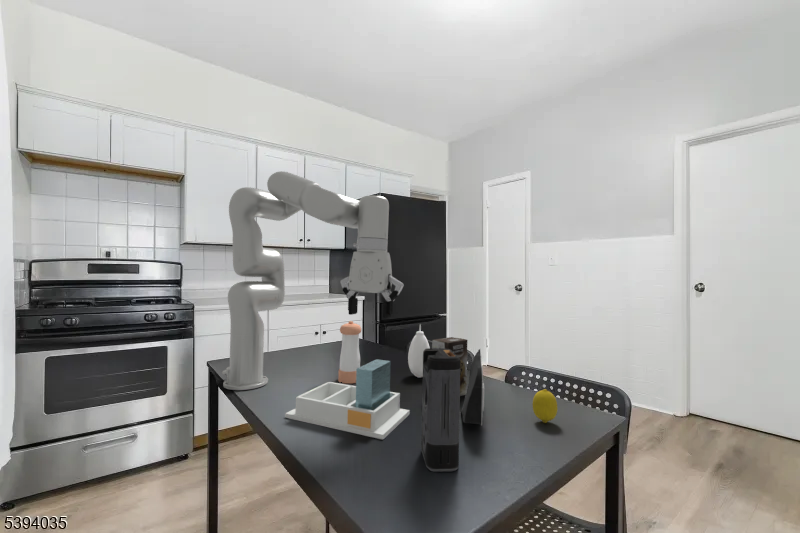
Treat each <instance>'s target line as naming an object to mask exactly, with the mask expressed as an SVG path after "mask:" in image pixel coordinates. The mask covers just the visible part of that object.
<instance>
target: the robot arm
mask: <svg viewBox="0 0 800 533" xmlns="http://www.w3.org/2000/svg"><path fill="white" fill-rule="evenodd" d="M266 185H267V190H264V189H260V188H255V187H251V186H250V187H247V186H246V187H241V188H239V189H236V190H235V191H234V193H233V194H232V196H231V198H230V201H229V203H228V204H229V205H228V216H229V219H230V225H231V230H232V231H231V232H232V267H233V270H234V273H235V274H236V275H238V276H240V277H246V278H248V277H249V278H253V277H254V278H261V280H259V281H258V280H246V281H238V282H236V283H234V284H232V286H231V287H230V288H229V289H228V292H227V303H228V308H229V316H230V317H229V318H230V333H229V334H230V342H229V366H228V367H226V368H225V369H223V370H222V371H221V374H222V375H224V376H226V379H225V380H224V381H223V384H222V387H223V388H224V389H227V390H232V391H246V390H254V389H258V388H260V387H263V386H266V385H267V384H268V382H269V378H268V377H267V376H266V375H264V343H265V342H264V341H265V337H264V335H265V325H264V322H263V319H262V316H261V315H260V314H259V312H264V311H273V310H276V309H279V308H280V307H281V306H282V305H283V303H284V300H285V294H286V291H285V287H286V286H285V284H286V283H285V263H284V258H283V257H282V254H281V253H280V252H279V251H278V250H276V249H273V248H269V247H263V233H262V229H261V227H260V225H259V223H258V222H257V220H256V219H255V218H260V219H266V220H271V221H276V222H277V221H278V222H280V221H284V220H287V219H288V218H290V217H291V216H294V215H295V214H297V213H298V212H300V211H302V212H303V213H304V214H306V215H309V216H310V217H312V218H315V219H316V220H318V221H319V220H320V221H322V222H325V223H327V224H330V225H334V226H335V225H336V226H340V227H344V228H345V227H346V228H350V229H357V238H356V241H354V242H353V244H352V246H353V247H354V248H356V251H353V252H352V253H353V254H352V257H351V262H350V267H349V273H348V274H349V275H348V276H347V277H346V276H345V277H344V278H342V279H340V281H339V282H340V285H341V288H342V291H343V293H344V294H345V297H346V298H347V300H348V302H347V310H348V315H356V314H358V307H359V306H358V303H359V299H358V297H357V296H358V295H359V294H360V293H372V294H381V295H382V297H383V298H384V299H385V301H383V306H382V307H383V308H382V309H383V310H382V311H383V312H382V317H383V319H388V318H391V317H392V315H393V309H394V302H395V300H396V299H397V298H398V296H400V294H401V292H402V290H403V288H404V286H405V285H404V283H403V282H401V281H400V280H398V279H397V278H396V277H394V276H393V271H392V260H391V255H390V252H388V244H389V243H388V242H389V240H388V238H389V236H388V235H389V216H390V215H389V212H390V204H389V200H388V199H387V198H386V197H384V196H381V195H364V196H362V197H360V199H355V198H352V197H349V196H346V195H344V194H340V193H336V192H333V191H331V190H328V189H326V188H322V186H320V184H319V183H317V182H315V181H312V180H311V179H308V178H305V177H304V176H303V177H302V176H300V175H297V174H294V173H291V172H288V171H276V172H274V173H271V175H270V176H269V177H268V179H267V182H266ZM392 285H393V286H394V290H393V291H392Z"/></svg>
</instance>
